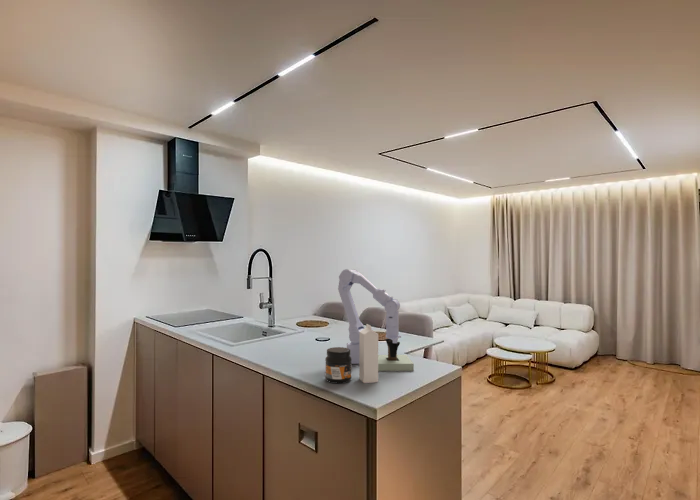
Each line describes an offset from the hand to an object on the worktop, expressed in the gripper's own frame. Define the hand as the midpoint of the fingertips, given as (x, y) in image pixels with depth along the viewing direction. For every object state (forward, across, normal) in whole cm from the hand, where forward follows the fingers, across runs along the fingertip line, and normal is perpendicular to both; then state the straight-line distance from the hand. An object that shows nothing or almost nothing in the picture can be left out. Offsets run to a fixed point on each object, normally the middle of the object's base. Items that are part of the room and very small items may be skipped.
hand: (392, 355), depth 169 cm
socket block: (+4, 0, 0) cm, 4 cm away
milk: (+5, -21, +13) cm, 25 cm away
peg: (+3, 0, 0) cm, 3 cm away
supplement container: (+5, -20, +25) cm, 32 cm away
